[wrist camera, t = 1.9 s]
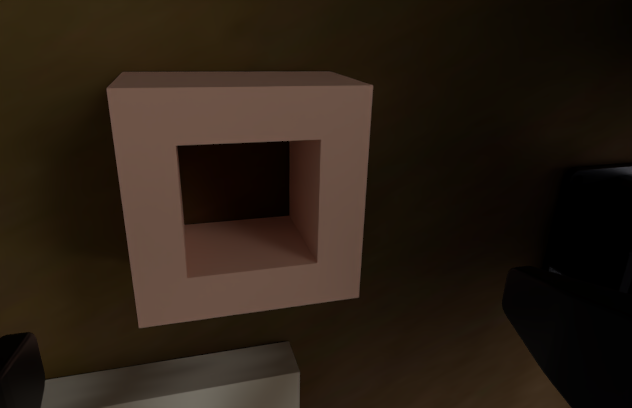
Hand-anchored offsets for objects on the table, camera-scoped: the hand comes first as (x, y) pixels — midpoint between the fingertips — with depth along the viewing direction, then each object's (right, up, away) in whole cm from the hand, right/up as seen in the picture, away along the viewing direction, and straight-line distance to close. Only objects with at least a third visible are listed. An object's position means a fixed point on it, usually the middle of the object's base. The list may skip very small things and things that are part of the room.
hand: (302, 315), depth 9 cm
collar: (-3, +3, +8) cm, 9 cm away
